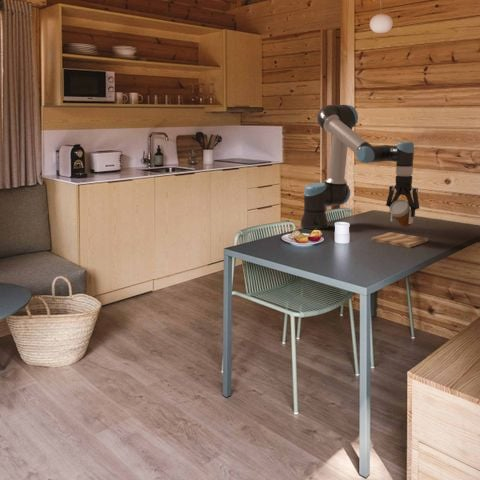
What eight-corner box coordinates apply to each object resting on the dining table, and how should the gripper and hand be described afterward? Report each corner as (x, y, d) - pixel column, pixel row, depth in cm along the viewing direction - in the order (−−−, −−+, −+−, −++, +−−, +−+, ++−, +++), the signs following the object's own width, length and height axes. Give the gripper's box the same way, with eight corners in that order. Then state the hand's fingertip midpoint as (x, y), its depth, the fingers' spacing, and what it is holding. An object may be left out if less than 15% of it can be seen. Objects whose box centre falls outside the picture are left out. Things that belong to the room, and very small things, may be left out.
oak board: (371, 241, 268) (371, 238, 267) (390, 235, 280) (390, 232, 280) (409, 247, 254) (409, 244, 254) (427, 241, 266) (427, 238, 266)
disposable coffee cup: (406, 232, 266) (398, 217, 258) (393, 224, 273) (384, 209, 265) (420, 219, 266) (413, 203, 258) (407, 211, 273) (399, 195, 265)
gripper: (429, 176, 256) (426, 224, 261) (387, 173, 271) (385, 218, 276) (421, 177, 251) (418, 226, 256) (379, 174, 266) (377, 220, 271)
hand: (401, 222), depth 266 cm, fingers closed on disposable coffee cup, 9 cm apart
